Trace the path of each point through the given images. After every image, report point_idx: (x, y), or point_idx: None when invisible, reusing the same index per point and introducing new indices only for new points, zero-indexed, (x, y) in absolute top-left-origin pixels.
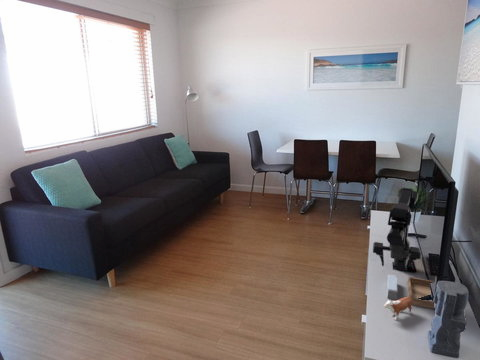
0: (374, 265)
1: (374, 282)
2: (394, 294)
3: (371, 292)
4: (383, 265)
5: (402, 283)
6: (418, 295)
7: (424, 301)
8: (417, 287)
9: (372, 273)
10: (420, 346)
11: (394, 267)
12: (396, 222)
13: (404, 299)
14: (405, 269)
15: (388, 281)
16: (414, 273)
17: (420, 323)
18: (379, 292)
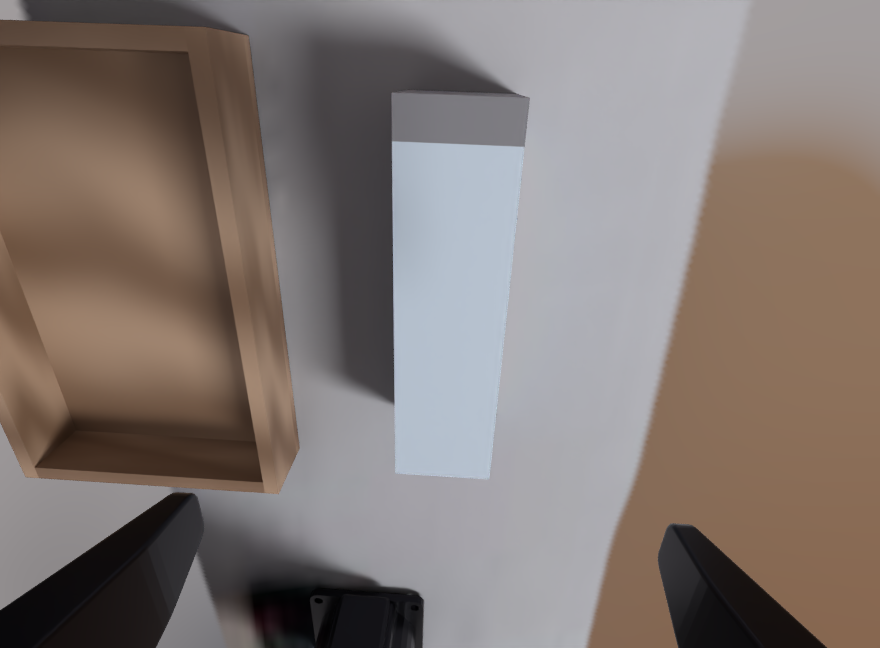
0: (570, 613)
1: (619, 381)
2: (434, 92)
3: (698, 175)
4: (687, 541)
5: (344, 424)
6: (176, 247)
7: (29, 22)
8: (205, 386)
9: (610, 513)
10: None
11: (409, 611)
12: None
13: None
14: (190, 495)
15: (499, 342)
16: (255, 570)
17: None
18: (597, 203)
